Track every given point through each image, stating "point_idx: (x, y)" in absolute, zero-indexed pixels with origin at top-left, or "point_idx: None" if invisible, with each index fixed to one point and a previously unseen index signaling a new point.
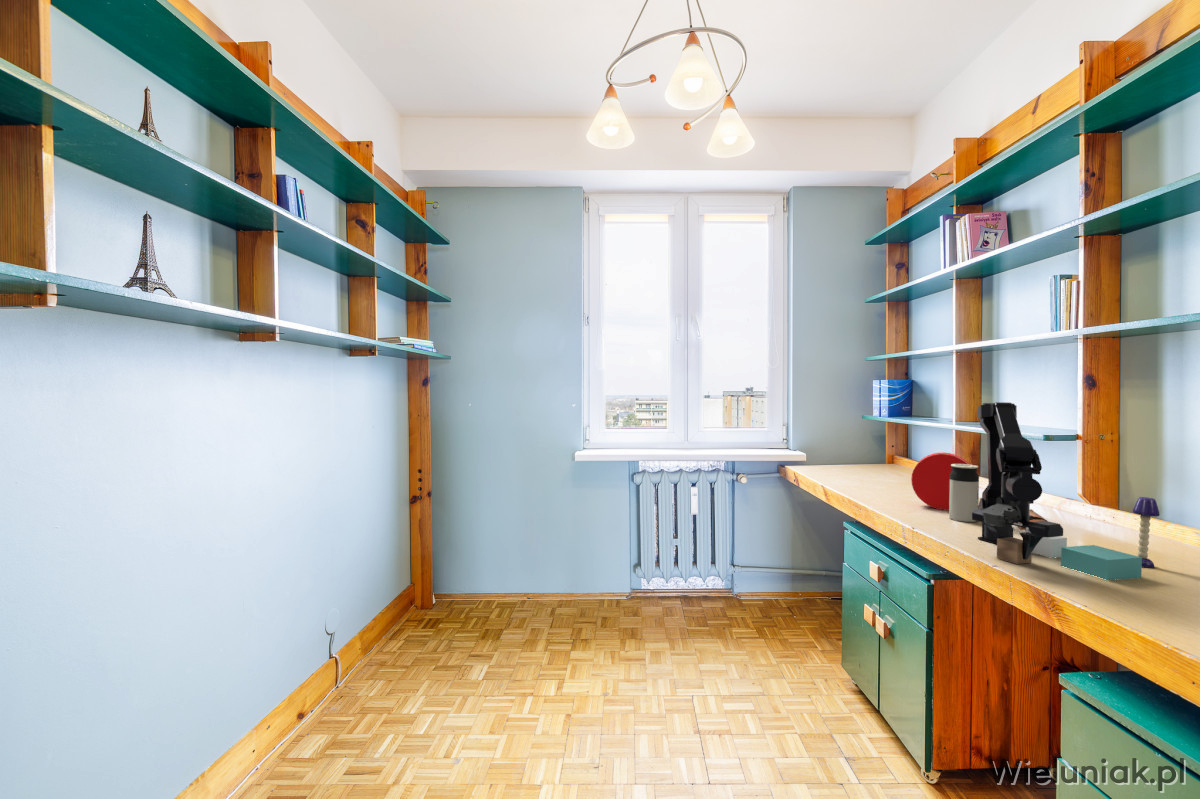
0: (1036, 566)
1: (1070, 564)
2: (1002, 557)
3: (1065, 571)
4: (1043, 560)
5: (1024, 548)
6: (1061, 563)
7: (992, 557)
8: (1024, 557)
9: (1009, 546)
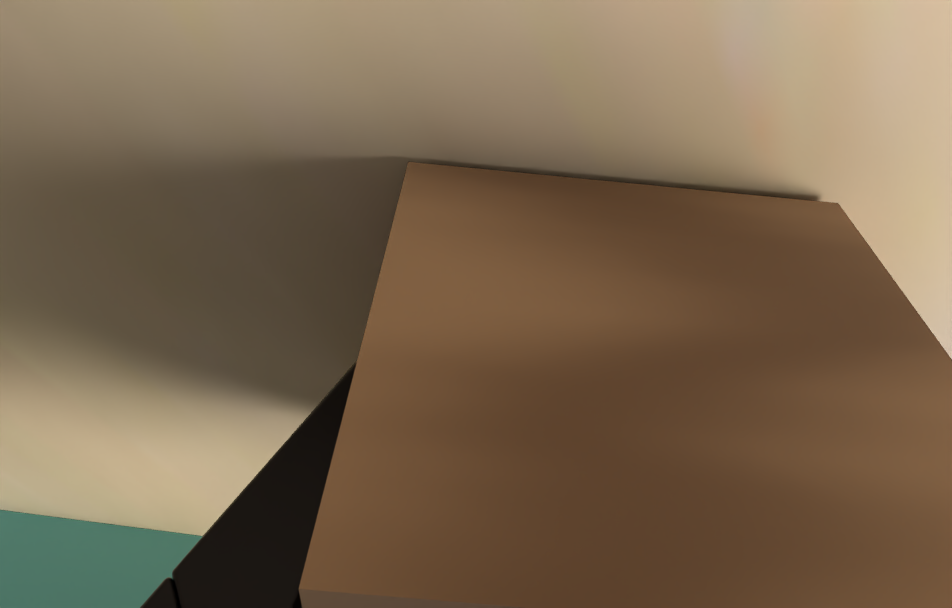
0: (251, 341)
1: (63, 580)
2: (729, 221)
3: (8, 432)
4: None
5: (265, 542)
6: None
7: (923, 199)
8: (350, 373)
9: (611, 448)
